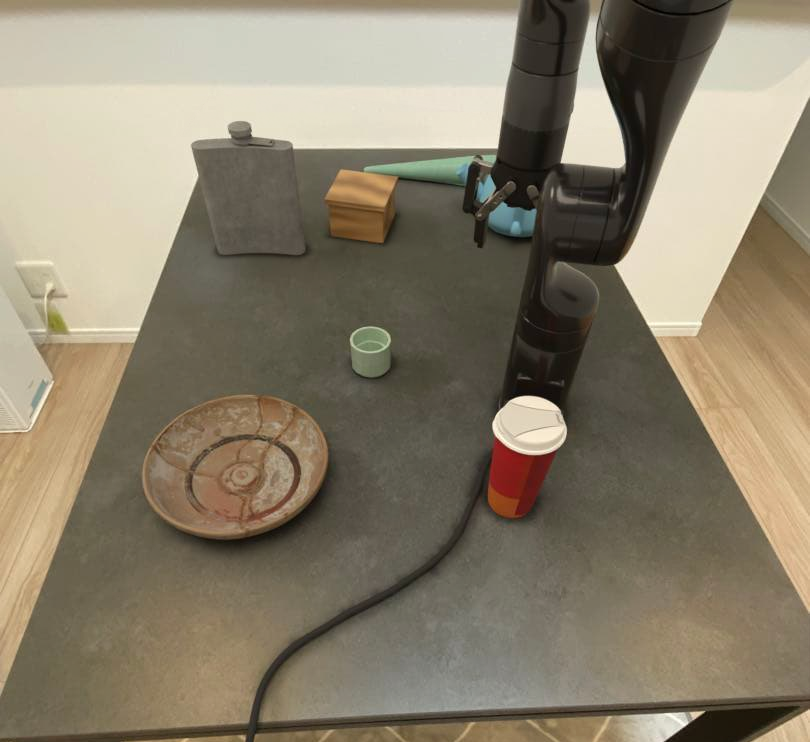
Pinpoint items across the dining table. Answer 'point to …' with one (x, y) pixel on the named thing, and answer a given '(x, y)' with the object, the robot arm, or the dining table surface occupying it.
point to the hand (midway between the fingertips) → (512, 251)
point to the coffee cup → (523, 453)
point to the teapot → (503, 211)
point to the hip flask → (250, 192)
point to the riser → (361, 205)
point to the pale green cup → (370, 351)
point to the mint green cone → (429, 169)
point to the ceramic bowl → (235, 466)
